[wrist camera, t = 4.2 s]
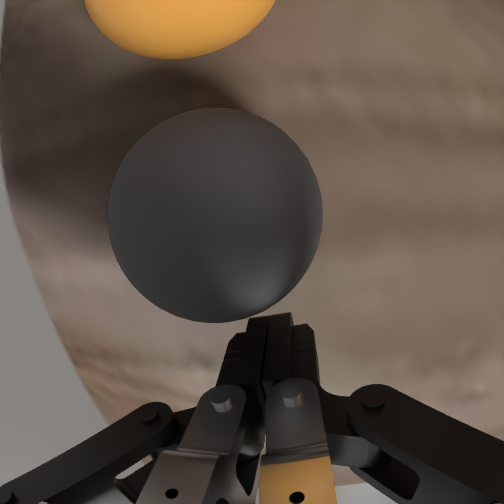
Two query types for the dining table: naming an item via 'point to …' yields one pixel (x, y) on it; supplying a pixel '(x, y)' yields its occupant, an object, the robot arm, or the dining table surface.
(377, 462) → the robot arm
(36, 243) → the dining table surface
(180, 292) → the gray ball
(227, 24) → the orange ball
